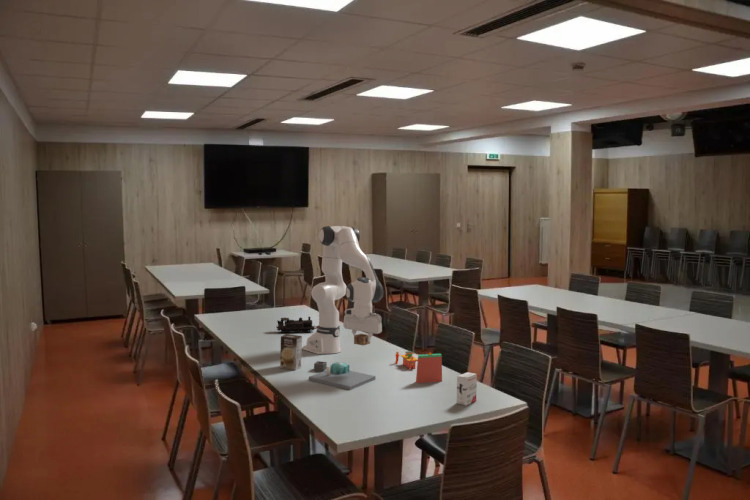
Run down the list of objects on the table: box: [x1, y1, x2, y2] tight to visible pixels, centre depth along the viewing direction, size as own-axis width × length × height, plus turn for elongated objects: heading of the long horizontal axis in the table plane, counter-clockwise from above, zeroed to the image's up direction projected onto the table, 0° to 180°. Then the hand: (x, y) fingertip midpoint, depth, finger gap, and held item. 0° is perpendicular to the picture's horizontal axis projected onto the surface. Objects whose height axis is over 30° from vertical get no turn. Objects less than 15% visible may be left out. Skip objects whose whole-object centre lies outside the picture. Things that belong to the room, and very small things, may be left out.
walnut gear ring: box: [353, 333, 371, 346], centre depth 281 cm, size 6×7×4 cm
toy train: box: [275, 316, 316, 334], centre depth 372 cm, size 8×25×10 cm, turn 102°
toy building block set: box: [394, 350, 443, 384], centre depth 290 cm, size 12×35×14 cm, turn 18°
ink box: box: [456, 372, 478, 406], centre depth 247 cm, size 8×5×12 cm, turn 140°
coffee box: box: [279, 333, 303, 371], centre depth 292 cm, size 9×6×16 cm
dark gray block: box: [313, 360, 328, 373], centre depth 290 cm, size 5×5×4 cm
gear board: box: [308, 361, 376, 391], centre depth 275 cm, size 24×20×6 cm
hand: (362, 340), depth 281 cm, fingers closed on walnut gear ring, 6 cm apart
